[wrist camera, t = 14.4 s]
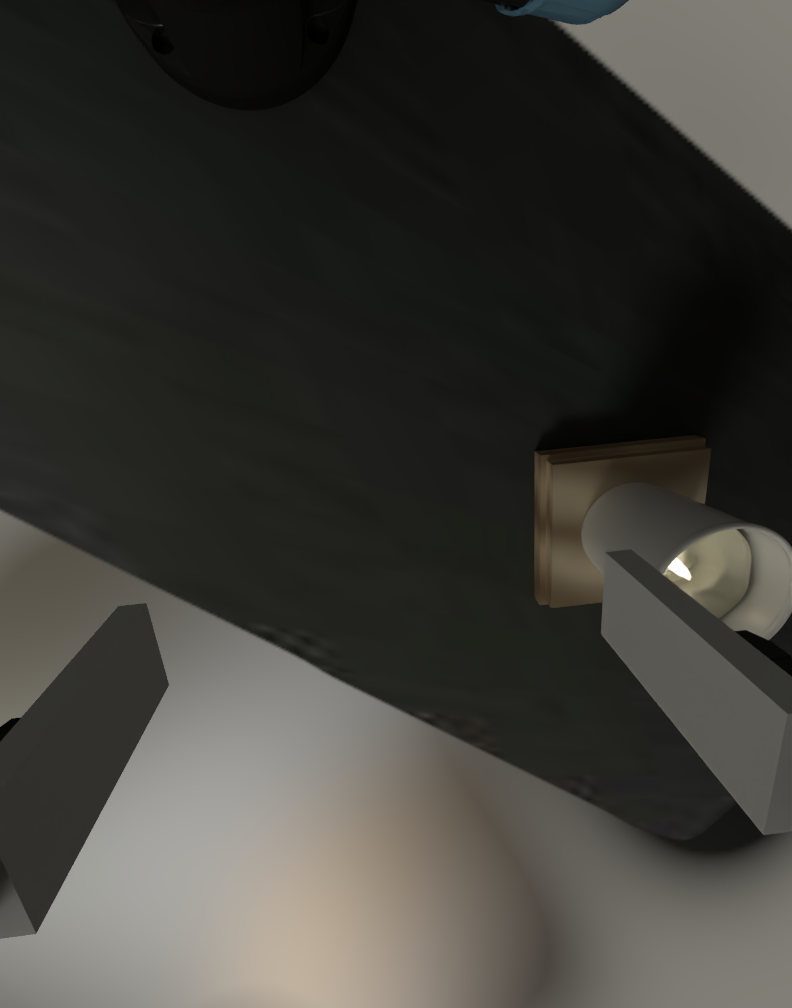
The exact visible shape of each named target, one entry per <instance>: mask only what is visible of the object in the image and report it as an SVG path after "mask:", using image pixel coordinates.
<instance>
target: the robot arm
mask: <svg viewBox="0 0 792 1008" xmlns="http://www.w3.org/2000/svg"><path fill="white" fill-rule="evenodd" d="M115 1H116V3H117V5H118V7H119V9H120V11H121V13H122V15H123V16H124V18H125V20H126V22H127V23H128V25H129V26H130V28H131V29H132V31H133V32H134V34H135V35H136V36H137V38H138V39H139V40H140V42H141V43H142V44H143V46H144V47H145V48H146V50H147V51H148V52H149V54H150V55H151V56H152V58H153V59H154V60H155V61H156V62H157V64H158V65H159V66H160V67H161V68H162V69H163V70H164V71H165V72H166V73H167V74H168V75H169V76H170V77H171V78H173V79H174V80H175V81H176V82H177V83H179V84H180V85H181V86H183V87H184V88H186V89H187V90H188V91H190V92H192V93H193V94H195V95H197V96H199V97H201V98H203V99H205V100H207V101H209V102H212V103H214V104H217V105H221V106H224V107H228V108H233V109H240V110H260V109H267V108H272V107H276V106H279V105H282V104H285V103H287V102H289V101H291V100H293V99H295V98H297V97H299V96H300V95H302V94H304V93H305V92H306V91H308V90H309V89H310V88H312V87H313V86H314V85H315V84H316V83H317V82H318V81H319V80H320V79H321V78H322V77H323V76H324V75H325V73H326V72H327V71H328V70H329V68H330V67H331V66H332V64H333V63H334V61H335V60H336V58H337V56H338V54H339V53H340V51H341V49H342V47H343V44H344V42H345V40H346V37H347V35H348V32H349V29H350V26H351V23H352V19H353V15H354V10H355V4H356V0H115ZM483 1H486V2H490V3H493V4H495V6H496V9H497V10H498V11H499V12H501V13H503V14H505V15H509V16H519V15H525V14H531V15H535V16H539V17H543V18H547V19H552V20H556V21H560V22H564V23H569V24H576V25H578V24H587V23H591V22H592V21H594V20H596V19H598V18H601V17H602V16H604V15H608V14H611V13H612V12H614V11H616V10H617V9H618V8H620V7H621V6H622V5H624V4H625V3H626V2H627V1H628V0H483ZM601 634H602V636H603V637H604V638H605V639H606V641H607V642H608V643H609V644H610V646H611V647H612V648H613V649H614V651H615V652H616V653H617V654H618V656H619V657H620V658H621V659H622V660H623V662H624V663H625V664H626V665H627V667H628V668H629V669H630V670H631V672H632V673H633V674H634V675H635V677H636V678H637V679H638V680H639V682H640V683H641V684H642V685H643V686H644V688H645V689H646V690H647V691H648V693H649V694H650V695H651V696H652V698H653V699H654V700H655V701H656V703H657V704H658V705H659V706H660V708H661V709H662V710H663V711H664V712H665V714H666V715H667V716H668V717H669V719H670V720H671V721H672V722H673V724H674V725H675V726H676V727H677V729H678V730H679V731H680V732H681V734H682V735H683V736H684V737H685V738H686V740H687V741H688V742H689V743H690V745H691V746H692V747H693V748H694V750H695V751H696V752H697V753H698V755H699V756H700V757H701V758H702V760H703V761H704V762H705V763H706V764H707V766H708V767H709V768H710V769H711V771H712V772H713V773H714V774H715V776H716V777H717V778H718V779H719V781H720V782H721V783H722V784H723V785H724V787H725V788H726V789H727V790H728V792H729V793H730V794H731V795H732V797H733V798H734V799H735V800H736V802H737V803H738V804H739V805H740V806H741V808H742V809H743V810H744V811H745V813H746V814H747V815H748V816H749V818H750V819H751V820H752V821H753V823H754V824H755V825H756V826H757V828H758V829H759V830H760V831H761V832H762V834H763V835H768V834H775V833H783V832H790V831H792V659H791V656H790V655H789V654H787V653H786V652H785V651H783V650H782V649H781V648H779V647H778V646H777V645H775V644H774V643H773V642H771V641H769V640H767V639H765V638H762V637H760V636H758V635H756V634H754V633H751V632H749V631H747V630H741V631H733V630H732V629H731V628H730V627H728V626H727V625H726V624H725V623H723V622H722V621H721V620H720V619H718V618H717V617H716V616H714V615H713V614H712V613H711V612H709V611H708V610H707V609H706V608H704V607H703V606H702V605H701V604H699V603H698V602H697V601H696V600H694V599H693V598H692V597H691V596H689V595H688V594H687V593H685V592H684V591H683V590H682V589H680V588H679V587H678V586H677V585H675V584H674V583H673V582H672V581H670V580H669V579H668V578H667V577H665V576H664V575H663V574H662V573H660V572H659V571H658V570H656V569H655V568H654V567H653V566H651V565H650V564H649V563H648V562H646V561H645V560H644V559H643V558H641V557H640V556H639V555H638V554H636V553H635V552H634V551H633V550H631V549H630V550H621V551H612V552H605V568H604V587H603V607H602V627H601ZM168 685H169V684H168V680H167V676H166V673H165V669H164V665H163V662H162V658H161V655H160V651H159V647H158V644H157V640H156V637H155V633H154V630H153V626H152V622H151V619H150V615H149V611H148V608H147V604H146V603H144V604H135V605H126V606H119V607H117V609H116V610H115V611H114V612H113V613H112V614H111V615H110V617H109V618H108V619H107V620H106V621H105V622H104V623H103V625H102V626H101V627H100V628H99V629H98V630H97V631H96V633H95V634H94V635H93V636H92V637H91V638H90V639H89V641H88V642H87V643H86V644H85V645H84V646H83V648H82V649H81V650H80V651H79V652H78V653H77V654H76V656H75V657H74V658H73V659H72V660H71V661H70V662H69V664H68V665H67V666H66V667H65V668H64V670H63V671H62V672H61V673H60V674H59V675H58V676H57V677H56V679H55V680H54V681H53V682H52V683H51V684H50V685H49V687H48V688H47V689H46V690H45V691H44V692H43V694H42V695H41V696H40V697H39V698H38V699H37V700H36V701H35V703H34V704H33V705H32V706H31V707H30V708H29V709H28V711H27V712H26V713H25V714H24V715H23V716H22V718H15V719H11V720H9V721H8V722H7V723H5V724H4V725H2V726H1V727H0V939H1V938H8V937H15V936H23V935H30V934H36V933H37V931H38V929H39V927H40V925H41V924H42V922H43V920H44V918H45V916H46V914H47V912H48V910H49V909H50V907H51V905H52V903H53V901H54V899H55V897H56V895H57V894H58V892H59V890H60V888H61V886H62V884H63V882H64V880H65V879H66V877H67V875H68V873H69V871H70V869H71V867H72V865H73V864H74V862H75V860H76V858H77V856H78V854H79V852H80V850H81V849H82V847H83V845H84V843H85V841H86V839H87V837H88V836H89V834H90V832H91V829H92V828H93V826H94V824H95V822H96V821H97V819H98V817H99V815H100V813H101V811H102V809H103V807H104V805H105V804H106V802H107V800H108V798H109V796H110V794H111V792H112V791H113V789H114V787H115V785H116V783H117V781H118V779H119V777H120V776H121V774H122V772H123V770H124V768H125V766H126V764H127V763H128V761H129V759H130V757H131V755H132V753H133V751H134V749H135V748H136V746H137V744H138V742H139V740H140V738H141V736H142V734H143V733H144V731H145V729H146V727H147V725H148V723H149V721H150V719H151V718H152V716H153V714H154V712H155V710H156V708H157V706H158V704H159V702H160V701H161V699H162V697H163V695H164V693H165V691H166V689H167V688H168Z"/></svg>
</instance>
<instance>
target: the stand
mask: <svg viewBox="0 0 792 1008" xmlns="http://www.w3.org/2000/svg"><path fill="white" fill-rule="evenodd" d="M705 442H706V438H703V437H700V436H696V435H690V436H680V437H670V438H660V439H651V440H641V441H631V442H621V443H612V444H602V445H592V446H582V447H573V448H563V449H553V450H543V451H535V599H536V600H537V602H538V603H539V604H540V605H545V604H549V606H550V607H551V608H556V607H565V606H574V605H582V604H591V603H600V602H603V587H604V578H603V577H602V575H601V574H600V573H599V572H598V571H597V569H596V568H595V567H594V566H593V564H592V563H591V562H590V560H589V559H588V557H587V556H586V554H585V552H584V549H583V546H582V540H581V531H582V525H583V521H584V519H585V516H586V514H587V512H588V510H589V509H590V507H591V506H592V505H593V503H594V502H595V501H596V500H597V499H598V498H599V497H600V496H601V495H603V494H604V493H605V492H607V491H608V490H610V489H612V488H614V487H616V486H619V485H622V484H625V483H631V482H645V483H650V484H654V485H657V486H660V487H662V488H665V489H668V490H670V491H673V492H675V493H678V494H680V495H683V496H685V497H688V498H690V499H693V500H695V501H698V502H700V503H703V504H705V498H706V490H707V481H708V472H709V464H710V455H711V449H710V448H707V447H705Z"/></svg>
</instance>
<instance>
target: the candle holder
mask: <svg viewBox="0 0 792 1008" xmlns="http://www.w3.org/2000/svg"><path fill="white" fill-rule="evenodd" d="M581 540H582V546H583V549H584V552H585V554H586V556H587V557H588V559H589V560H590V562H591V563H592V564H593V566H594V567H595V568H596V569H597V571H598V572H599V573H600V574H601V575H602V577H603V578H604V568H605V552H612V551H621V550H630V549H631V550H633V551H634V552H635V553H636V554H638V555H639V556H640V557H641V558H643V559H644V560H645V561H646V562H648V563H649V564H650V565H651V566H653V567H654V568H655V569H656V570H658V571H659V572H660V573H662V574H663V575H664V576H665V577H667V578H668V579H669V580H670V581H672V582H673V583H674V584H675V585H677V586H678V587H679V588H680V589H682V590H683V591H684V592H685V593H687V594H688V595H689V596H691V597H692V598H693V599H694V600H696V601H697V602H698V603H699V604H701V605H702V606H703V607H704V608H706V609H707V610H708V611H709V612H711V613H712V614H713V615H714V616H716V617H717V618H718V619H720V620H721V621H722V622H723V623H725V624H726V625H727V626H728V627H730V628H731V629H732V630H733V631H741V630H747V631H749V632H751V633H754V634H756V635H758V636H760V637H762V638H765V639H767V640H769V639H771V638H772V637H773V636H774V635H775V634H776V633H777V632H778V631H779V630H780V628H781V627H782V626H783V625H784V623H785V622H786V621H787V619H788V618H789V616H790V614H791V613H792V547H791V545H790V544H789V543H788V542H787V541H786V540H785V539H784V538H783V537H782V536H781V535H779V534H778V533H776V532H775V531H773V530H771V529H769V528H766V527H764V526H761V525H757V524H753V523H750V522H748V521H745V520H743V519H740V518H738V517H735V516H733V515H730V514H728V513H725V512H723V511H720V510H718V509H715V508H713V507H710V506H708V505H705V504H703V503H700V502H698V501H695V500H693V499H690V498H688V497H685V496H683V495H680V494H678V493H675V492H673V491H670V490H668V489H665V488H662V487H660V486H657V485H654V484H650V483H645V482H631V483H625V484H622V485H619V486H616V487H614V488H612V489H610V490H608V491H607V492H605V493H604V494H603V495H601V496H600V497H599V498H598V499H597V500H596V501H595V502H594V503H593V505H592V506H591V507H590V509H589V510H588V512H587V514H586V516H585V519H584V521H583V525H582V531H581Z"/></svg>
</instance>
